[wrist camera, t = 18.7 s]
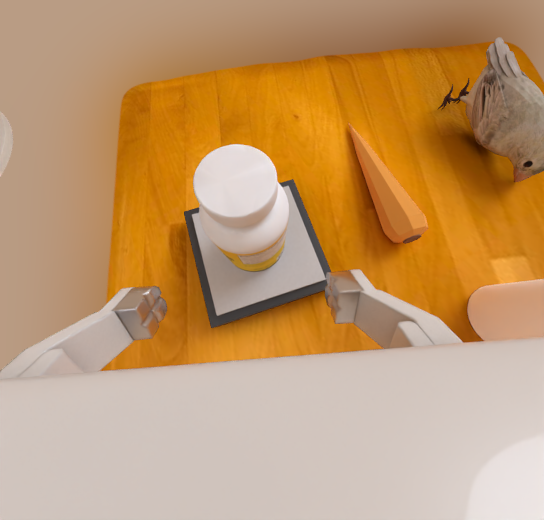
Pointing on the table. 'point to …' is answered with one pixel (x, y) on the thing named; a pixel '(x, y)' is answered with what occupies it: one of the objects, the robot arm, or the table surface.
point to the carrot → (389, 196)
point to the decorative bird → (506, 112)
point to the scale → (265, 284)
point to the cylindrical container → (508, 310)
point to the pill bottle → (242, 206)
